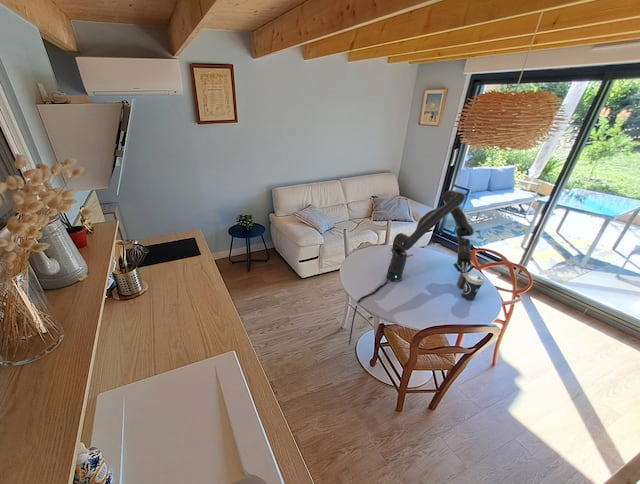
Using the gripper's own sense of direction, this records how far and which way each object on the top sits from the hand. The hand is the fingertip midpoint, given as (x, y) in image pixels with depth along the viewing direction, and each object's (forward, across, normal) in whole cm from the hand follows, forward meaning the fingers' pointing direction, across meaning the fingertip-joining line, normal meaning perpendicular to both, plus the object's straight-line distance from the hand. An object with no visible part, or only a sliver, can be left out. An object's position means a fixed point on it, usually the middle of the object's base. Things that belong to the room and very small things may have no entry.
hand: (463, 278), depth 191 cm
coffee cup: (+14, 0, -8) cm, 16 cm away
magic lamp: (-11, -38, +18) cm, 44 cm away
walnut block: (+6, 0, +1) cm, 6 cm away
